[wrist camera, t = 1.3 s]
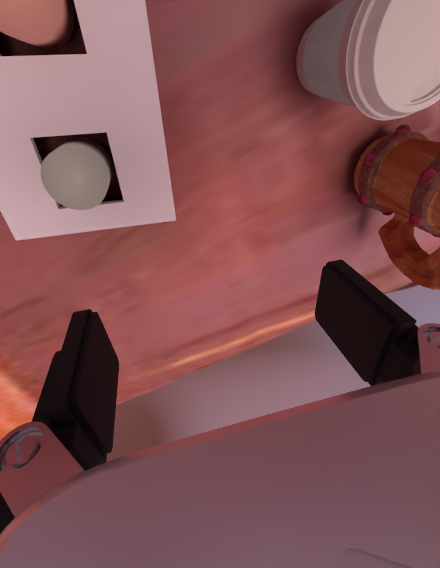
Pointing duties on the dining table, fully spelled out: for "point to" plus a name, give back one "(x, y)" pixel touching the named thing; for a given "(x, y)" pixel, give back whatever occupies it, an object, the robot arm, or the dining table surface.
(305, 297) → the dining table surface
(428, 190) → the mug
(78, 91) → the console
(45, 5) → the orange rounded piece
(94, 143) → the sage button
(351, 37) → the coffee cup
